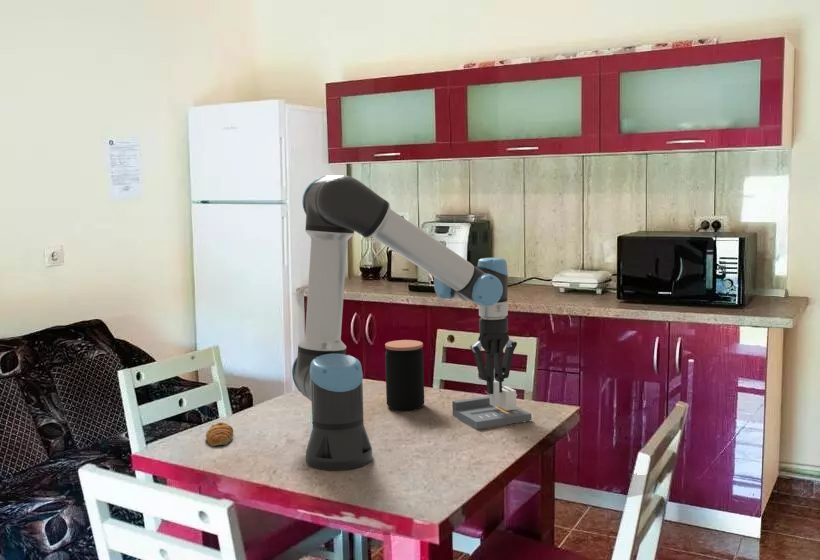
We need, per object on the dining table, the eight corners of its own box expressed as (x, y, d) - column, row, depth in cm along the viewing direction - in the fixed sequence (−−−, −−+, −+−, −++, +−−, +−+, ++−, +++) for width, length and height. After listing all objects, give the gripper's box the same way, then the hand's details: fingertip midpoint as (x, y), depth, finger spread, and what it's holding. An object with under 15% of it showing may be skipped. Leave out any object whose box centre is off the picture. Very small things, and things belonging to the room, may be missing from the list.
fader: (506, 410, 215) (506, 391, 214) (496, 405, 220) (495, 386, 219) (516, 409, 216) (516, 390, 215) (506, 404, 221) (505, 385, 220)
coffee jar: (426, 401, 235) (424, 339, 232) (422, 412, 224) (421, 347, 222) (389, 401, 236) (387, 339, 233) (384, 411, 225) (382, 347, 223)
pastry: (234, 446, 200) (233, 431, 199) (205, 449, 198) (204, 434, 198) (233, 434, 209) (232, 420, 208) (206, 437, 207) (205, 423, 207)
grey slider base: (476, 429, 207) (475, 414, 207) (452, 415, 220) (452, 401, 219) (531, 421, 213) (531, 406, 213) (505, 407, 226) (505, 393, 225)
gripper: (477, 321, 208) (479, 411, 211) (522, 317, 213) (523, 405, 215) (464, 317, 215) (466, 404, 217) (508, 313, 219) (509, 398, 222)
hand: (494, 405), depth 216 cm, fingers closed
